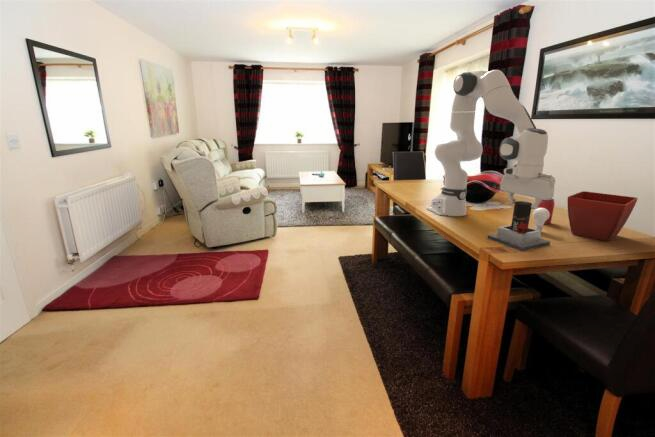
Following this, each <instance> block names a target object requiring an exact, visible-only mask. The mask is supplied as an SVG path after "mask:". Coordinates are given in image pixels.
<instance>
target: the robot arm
mask: <svg viewBox="0 0 655 437" xmlns="http://www.w3.org/2000/svg"><path fill="white" fill-rule="evenodd" d="M453 92H454V93H455V94H454V98H453V101H452V102H453V103H452V105H451V106H452V107H451V115H450V123H449V124H450V125H449V128H450V129H451V131H452V132H454V133H455V134H456V136H457V137H456V138H457V139H456V140H455V139H454V140H445V141H442V142H439V143H438V144H437V145H436V147H435V148H434V149H435V150H434V156H435V158H436V159H437V160H436V161H438V162H440V164H441V165H442V167H443V170H444V171H443V172H444V186H443V187H441V188H440V189H439V190H441V192H440V193H439V194H438V195H436V196H434V198H432V200H431V204H430V205H428V206H426V207H425V208H426V210H429V211H430V212H433V213H434V214H436V215H438V216H447V215H448V216H449V217H464V216H466V215H467V208H466V206H467V203H466V202H467V200H466V196H467V193H468V188H467V185H468V184H467V182H468V172H467V171H465V170H464V169H463V168H462V166H461V162H471V161H475V160H478V159H480V157H481V156H482V155H483V152H484V150H483V145H482V143H481V142H480V140H478V138H477V137H476V133H475V132H476V131H475V119H476V118H475V117H476V111H477V110H476V108H477V102H478V100H479V99H480V98H482V100H483V104H484V107H485V108H486V110H487V112H488V113H489V114H490V115H493V116H495V117H498V118H502V119H505V120H508V121H509V122H512V123H513V124H514V126H515V127H516V129H517V131H518V133H519V134H516V135H513V136H510V137H509V136H508V137H505V138H504V139H502V141H501V143H500V145H499V150H498V151H499V156H500V157H501V158H502V159H503V160H505V161H510V162H511V161H512V162H513V161H516V166H513V167H512V166H511V167H509V168H508V167H506V168H504V169H503V175H502V178H501V181H500V186H499V187H500V190H501V192H506V193H507V196H508V199H509V201H508V202H509V204H514V205H515V202H516V201H517V199H516V198H515V197H514V195H516V194H517V195H520V196H525V197H529V198H534V201H535V202H534V203H532V204H531V210H535V209H537V207H538V205H539V203H540V202H541V201H542V200H550V199H554V194H555V184H556V179H555V177H554V176H553V175H552V174H546V173H543V171H544V166H545V163H544V158H545V156H546V154H547V150H548V142H549V135H548V134H549V133H548V132H547V131H546V130H545V129H542V128H538V127H537V126H536V125H535V123H534V121H533V119H532V117H531V115H530V114H529V112H528V110H527V109H526V107H525V106H524V105H523V104H522V103H521V102H520V101H519V100H518V98H517V97H516V95H515V94H514V91H513V90H512V87H511V84H510V82H509V80H508V78H507V77H506V75H505V74H504V72H503V71H501V70H500V69H491V70H490V71H488V70H473V71H468V70H465V71H462V72H459V73H458V74H457V75H456V77H455V79H454V81H453Z"/></svg>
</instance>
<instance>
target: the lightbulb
mask: <svg viewBox="0 0 655 437" xmlns="http://www.w3.org/2000/svg"><path fill="white" fill-rule="evenodd" d="M549 216H550V213H549V211H548V210H547V209H545V208H537V209H533V212H532V217H533V220H534V223H535V228H534V229H536V230H540V231H541V232H543V231H542V230H543V226H544V225H545V224H544V223H545V221H547V220H548V218H549Z"/></svg>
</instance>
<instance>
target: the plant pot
mask: <svg viewBox="0 0 655 437" xmlns="http://www.w3.org/2000/svg"><path fill="white" fill-rule="evenodd" d="M638 199H639V198H638V197H634V196H626V195H618V194H610V193H604V192H603V193H602V192H595V191H594V192H593V191H587V190H586V191H585V190H584V191H583V190H582V191H579V192H576V193H574V194H572V195H569V196H567V216H568V222H569V226H570V227H569V228H570V232H571V234H572V235H576V236H581V237H584V238H585V237H586V238H590V239H594V240H600V241H605V242H609V241H610V240H612V239H613V238H615V237H616V236H618V235H619V233H620V232H621V230H623V228H624V226H625V224H626V223H627V221H628V219H629V217H630V215H631V214H632V212H633V210H634V208H635V206H636V204H637V202H638Z"/></svg>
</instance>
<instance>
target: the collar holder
mask: <svg viewBox="0 0 655 437" xmlns="http://www.w3.org/2000/svg"><path fill="white" fill-rule="evenodd" d="M541 235H542V231H540V230H536V229H535V228H532V227H530V226H528V230H527V233H519V232H516V231H513V230H511V224H507V225H503V226H498V227H497V232H496V233H492V234H491V233H490V234H487V237H486V239H488V240H490V239H491V241H493V240H494V242H496V241H497V242H496V243H498V242H499V243H498V244H501V243H502V244H501V245H504V246H506V245H507V247H510V248H512V249H514V248H515V250H517V249H518V251H520V252H525V251H529V250H532V249H537V248H543V247H546V246H549V245H550V244H551V241H550V240H547V239H544V238H541Z"/></svg>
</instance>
